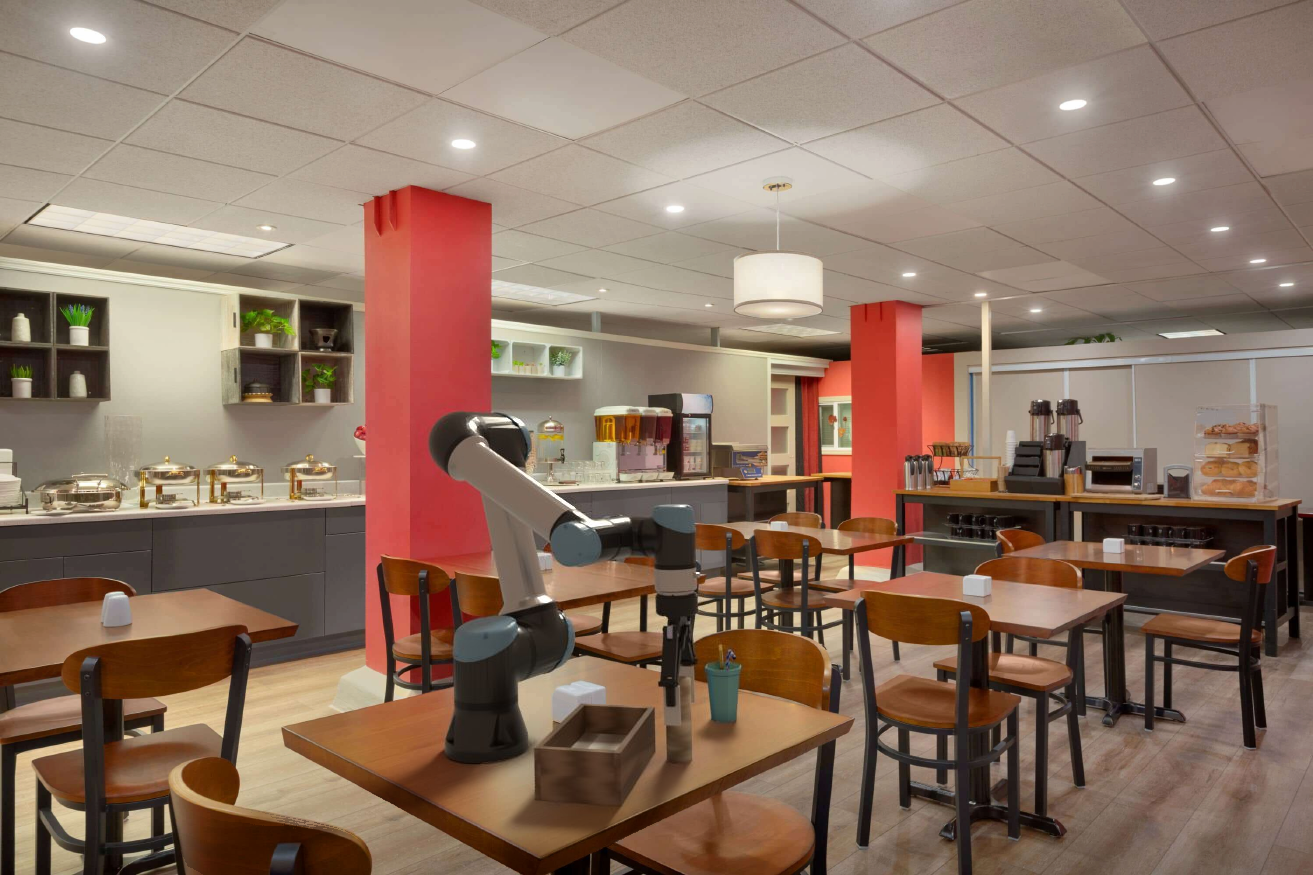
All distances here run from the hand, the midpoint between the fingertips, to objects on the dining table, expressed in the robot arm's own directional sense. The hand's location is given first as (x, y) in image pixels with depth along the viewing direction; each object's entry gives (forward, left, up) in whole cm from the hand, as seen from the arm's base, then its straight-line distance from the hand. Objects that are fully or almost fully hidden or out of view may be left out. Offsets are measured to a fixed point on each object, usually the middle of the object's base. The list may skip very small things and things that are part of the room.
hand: (680, 712), depth 146 cm
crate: (-12, -9, -8) cm, 17 cm away
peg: (0, 0, -8) cm, 8 cm away
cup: (+5, +23, -8) cm, 25 cm away
